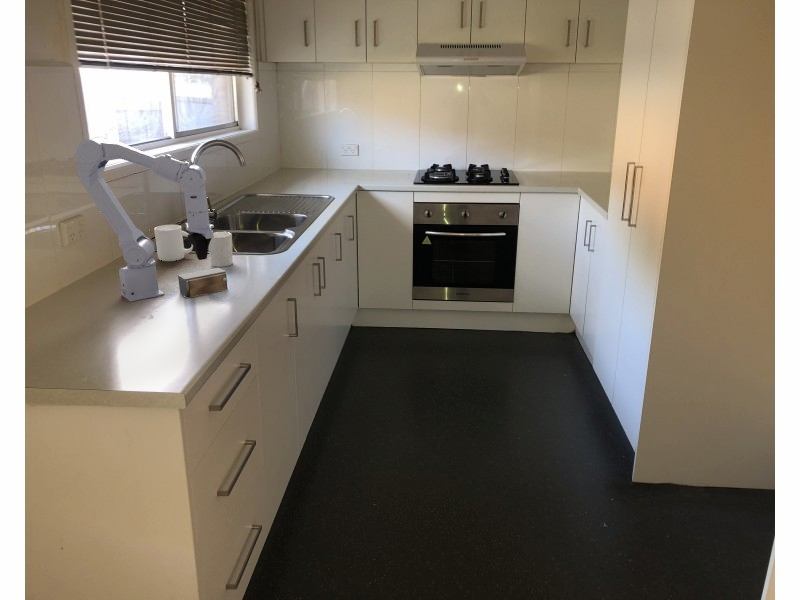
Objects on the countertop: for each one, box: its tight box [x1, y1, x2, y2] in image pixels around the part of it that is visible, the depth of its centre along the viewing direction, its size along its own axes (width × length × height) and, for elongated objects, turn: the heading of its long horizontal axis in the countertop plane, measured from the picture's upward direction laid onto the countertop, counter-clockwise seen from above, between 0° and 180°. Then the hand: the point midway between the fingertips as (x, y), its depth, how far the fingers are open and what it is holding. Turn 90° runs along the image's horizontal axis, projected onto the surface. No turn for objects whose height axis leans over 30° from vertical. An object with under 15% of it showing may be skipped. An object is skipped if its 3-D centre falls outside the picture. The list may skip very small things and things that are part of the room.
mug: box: [153, 224, 194, 262], centre depth 215 cm, size 9×12×11 cm
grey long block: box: [177, 267, 227, 298], centre depth 182 cm, size 12×5×5 cm, turn 129°
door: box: [185, 273, 229, 299], centre depth 179 cm, size 12×2×5 cm, turn 129°
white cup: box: [208, 231, 234, 268], centre depth 208 cm, size 8×8×10 cm
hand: (202, 259), depth 178 cm, fingers closed
